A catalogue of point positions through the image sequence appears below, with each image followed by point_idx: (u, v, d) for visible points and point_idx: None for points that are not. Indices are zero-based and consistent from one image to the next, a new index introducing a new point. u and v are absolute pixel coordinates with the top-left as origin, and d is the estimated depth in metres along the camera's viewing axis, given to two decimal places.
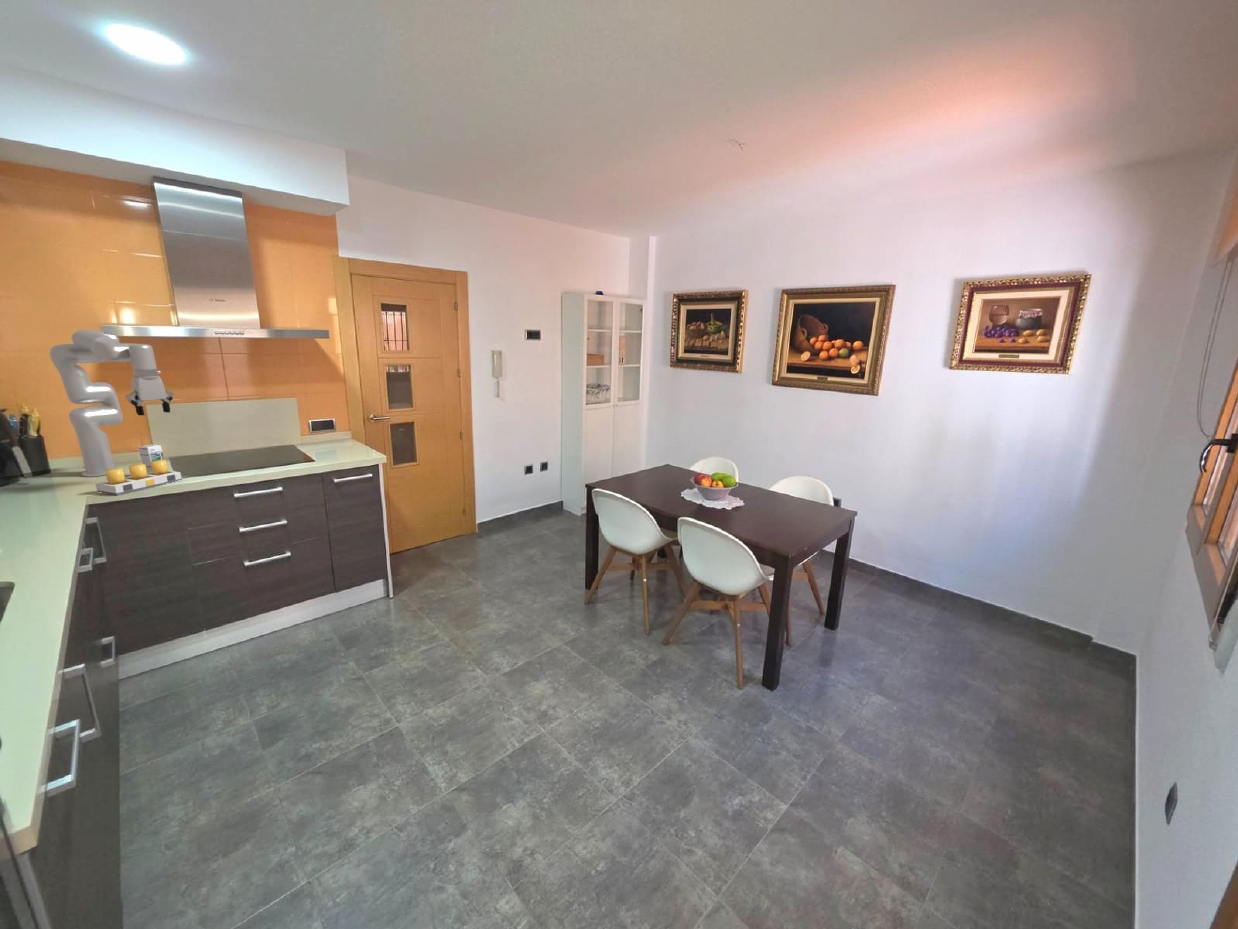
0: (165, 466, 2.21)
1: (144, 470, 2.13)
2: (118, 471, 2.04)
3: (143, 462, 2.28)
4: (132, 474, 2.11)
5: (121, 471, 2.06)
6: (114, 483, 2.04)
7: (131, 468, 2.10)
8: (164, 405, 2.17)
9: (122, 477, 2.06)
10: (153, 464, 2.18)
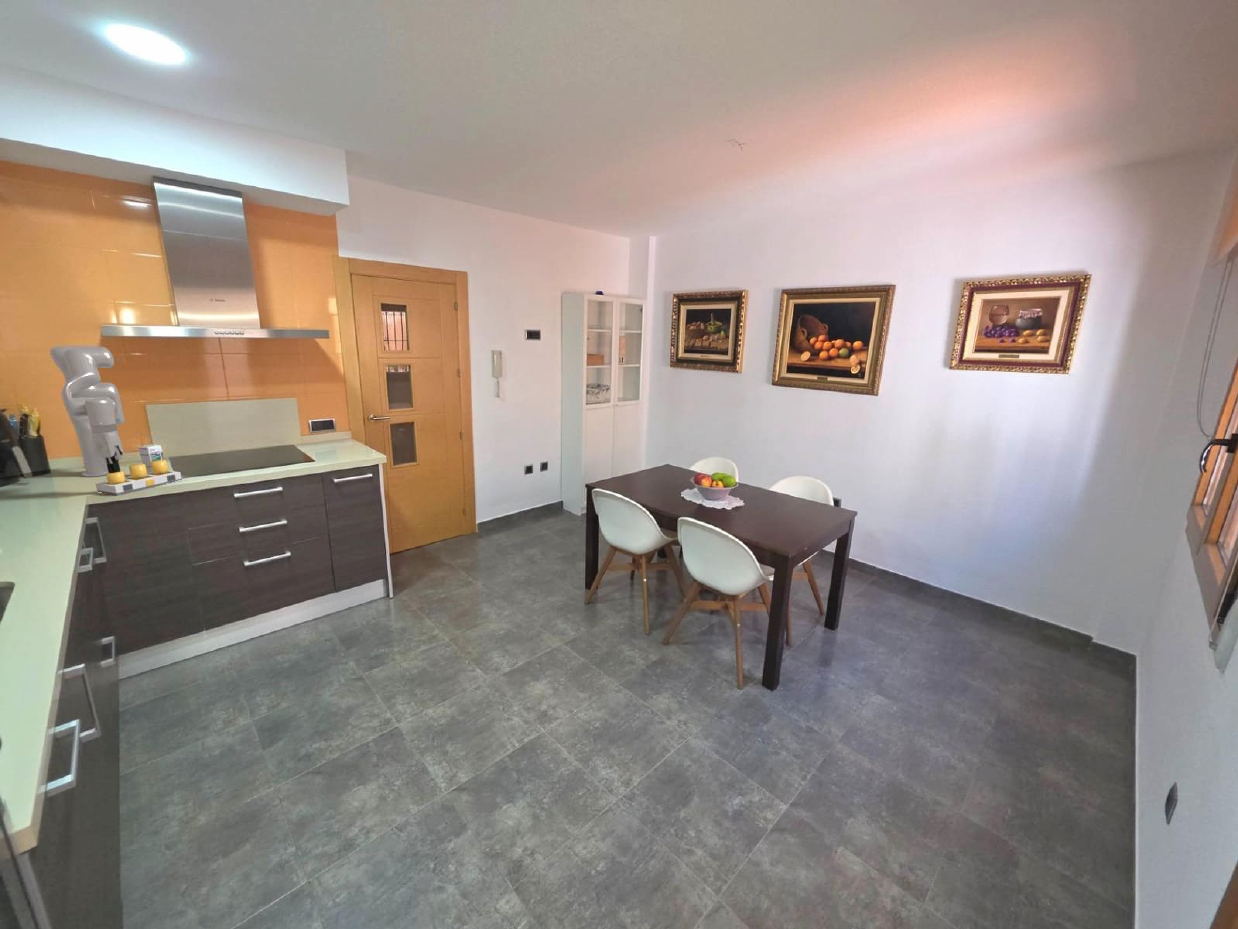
0: (165, 466, 2.21)
1: (144, 470, 2.13)
2: (119, 474, 2.05)
3: (143, 462, 2.28)
4: (132, 474, 2.11)
5: (122, 474, 2.06)
6: None
7: (131, 468, 2.10)
8: None
9: (123, 480, 2.06)
10: (153, 464, 2.18)
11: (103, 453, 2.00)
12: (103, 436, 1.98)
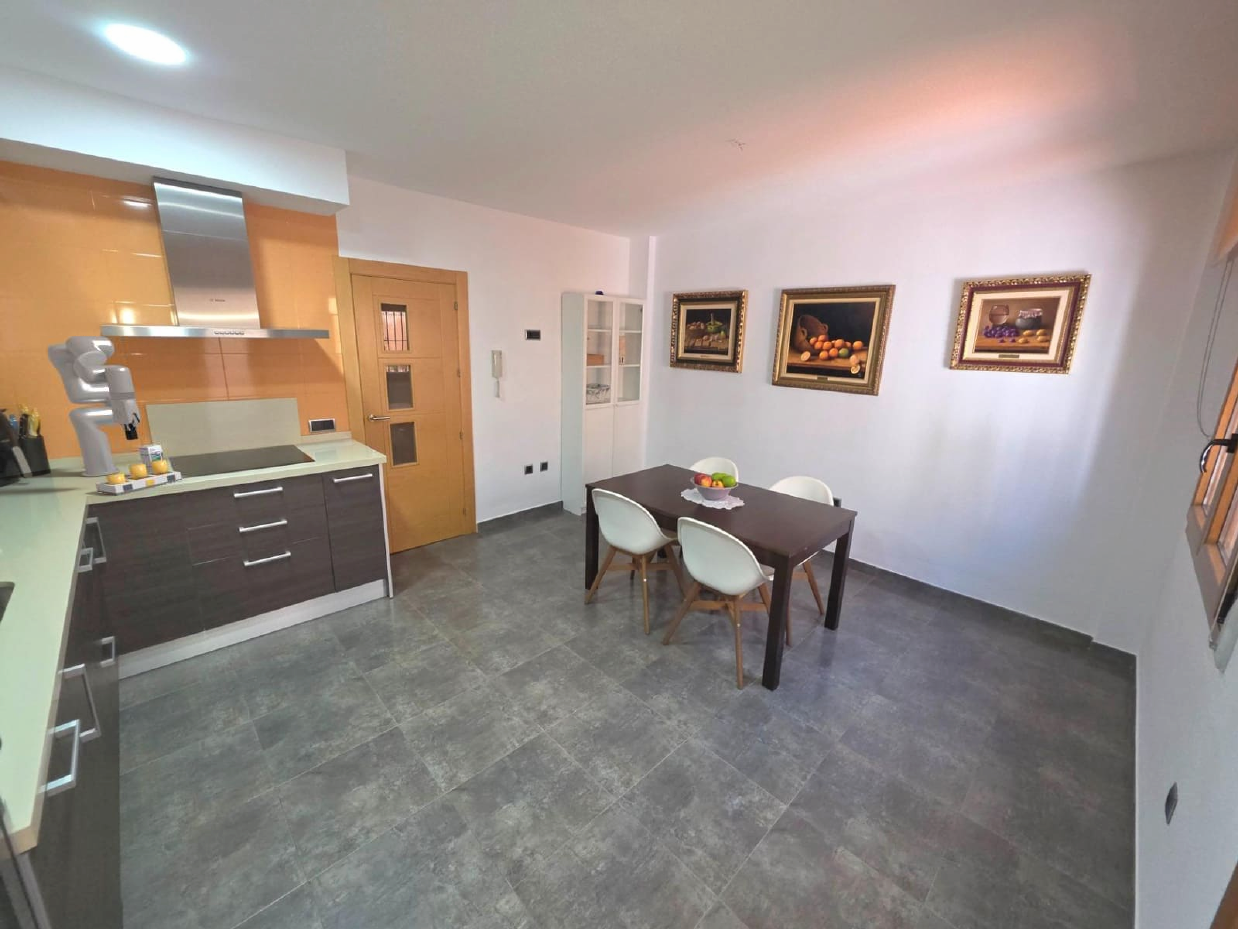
0: (165, 466, 2.21)
1: (144, 470, 2.13)
2: (119, 476, 2.05)
3: (143, 462, 2.28)
4: (132, 474, 2.11)
5: (122, 476, 2.06)
6: None
7: (131, 468, 2.10)
8: None
9: (123, 482, 2.07)
10: (153, 464, 2.18)
11: (121, 420, 2.05)
12: (121, 403, 2.03)
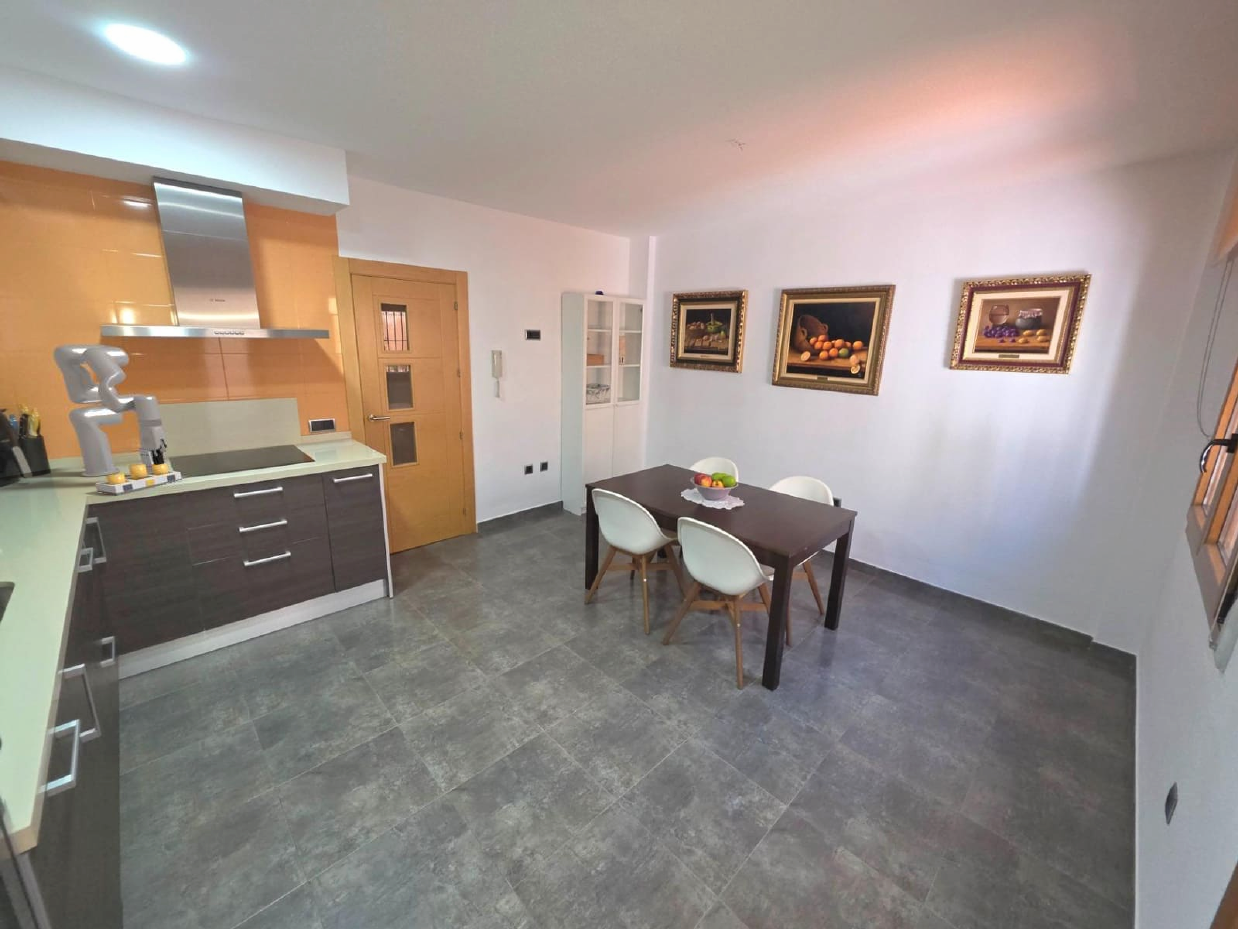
0: (166, 469, 2.21)
1: (144, 470, 2.13)
2: (119, 476, 2.05)
3: (143, 462, 2.28)
4: (132, 474, 2.11)
5: (122, 476, 2.06)
6: None
7: (131, 468, 2.10)
8: None
9: (123, 482, 2.07)
10: (154, 467, 2.18)
11: (149, 446, 2.15)
12: (149, 430, 2.13)
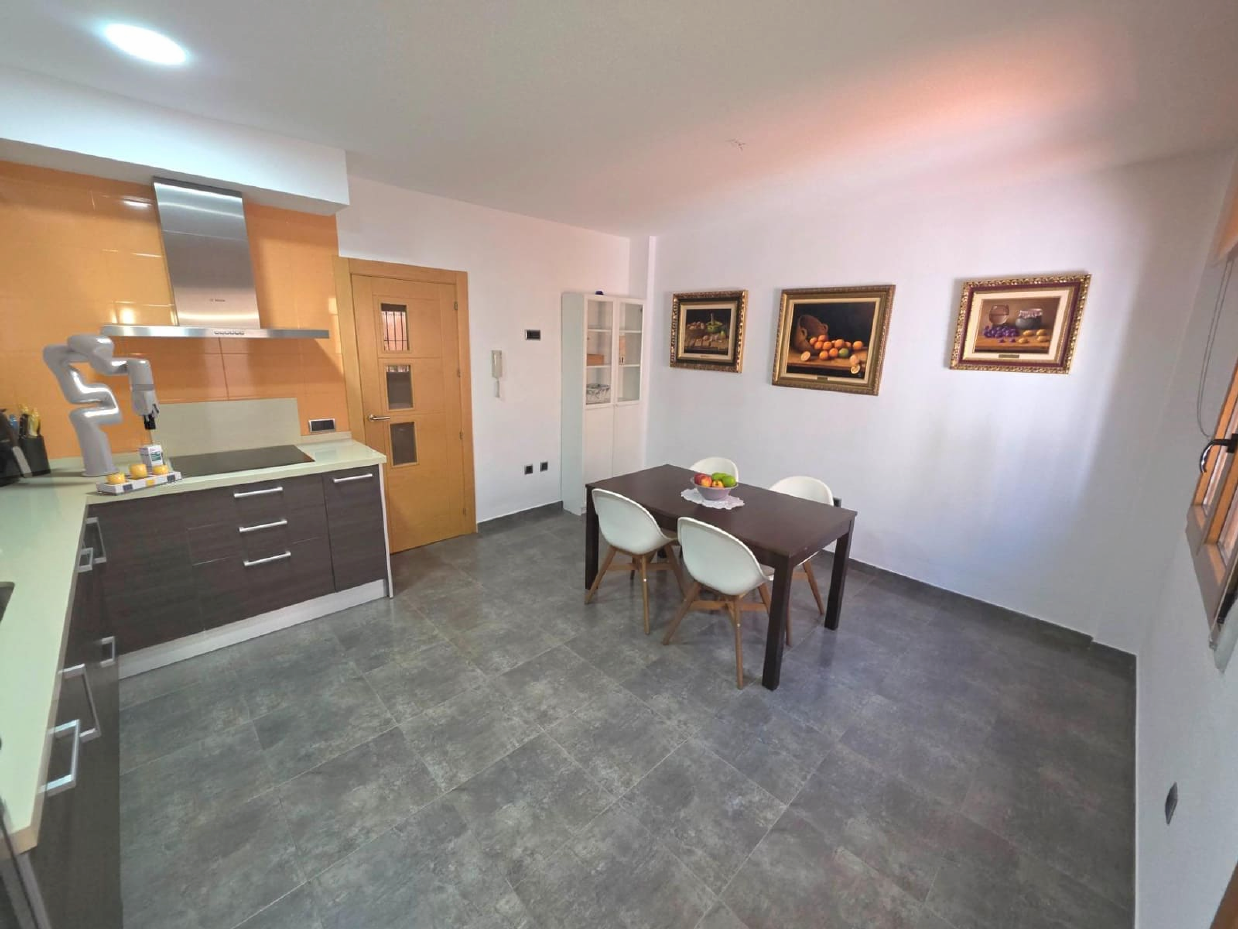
0: (166, 471, 2.21)
1: (144, 470, 2.13)
2: (119, 476, 2.05)
3: (143, 462, 2.28)
4: (132, 474, 2.11)
5: (122, 476, 2.06)
6: None
7: (131, 468, 2.10)
8: None
9: (123, 482, 2.07)
10: (154, 469, 2.18)
11: (141, 410, 2.13)
12: (141, 394, 2.11)
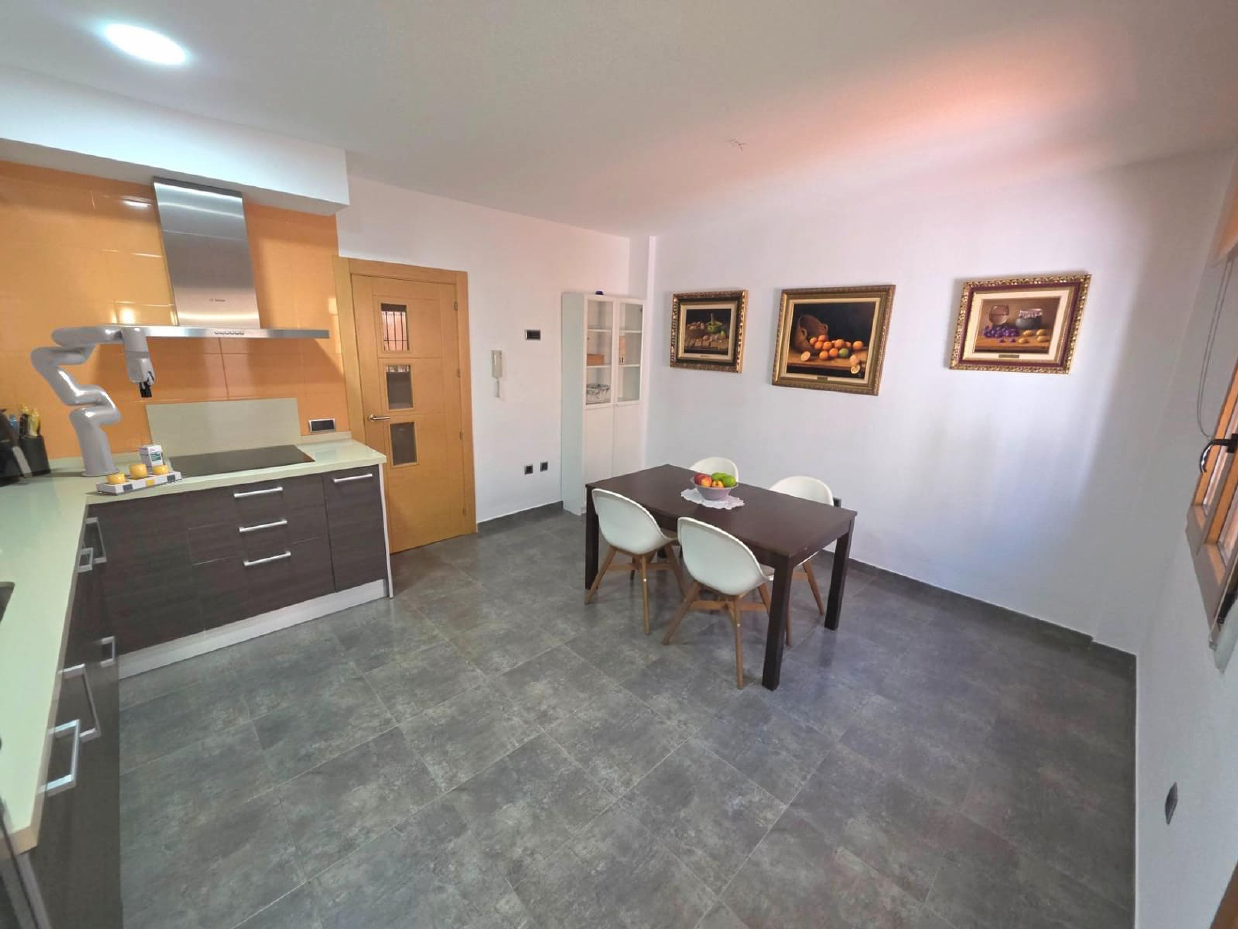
0: (166, 471, 2.21)
1: (144, 470, 2.13)
2: (119, 476, 2.05)
3: (143, 462, 2.28)
4: (132, 474, 2.11)
5: (122, 476, 2.06)
6: None
7: (131, 468, 2.10)
8: None
9: (123, 482, 2.07)
10: (154, 469, 2.18)
11: (137, 378, 2.16)
12: (137, 361, 2.14)
